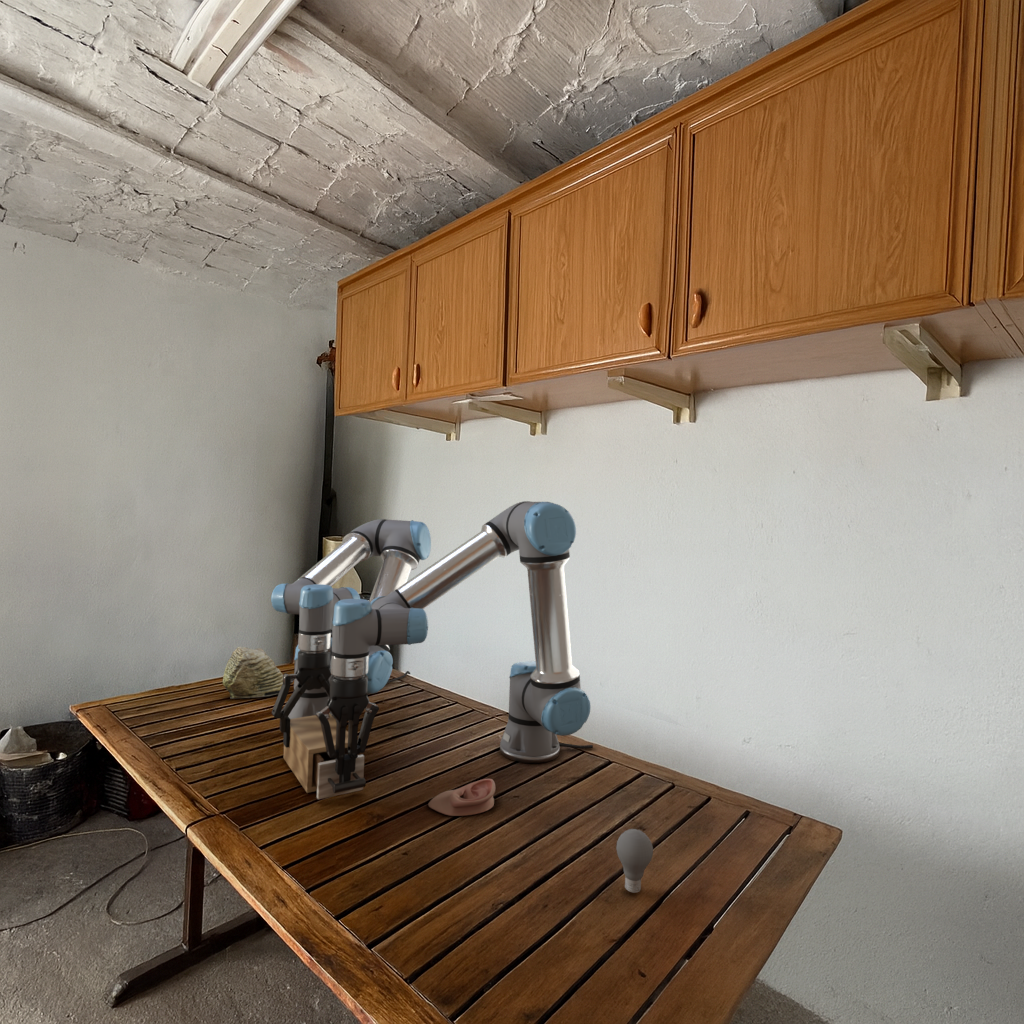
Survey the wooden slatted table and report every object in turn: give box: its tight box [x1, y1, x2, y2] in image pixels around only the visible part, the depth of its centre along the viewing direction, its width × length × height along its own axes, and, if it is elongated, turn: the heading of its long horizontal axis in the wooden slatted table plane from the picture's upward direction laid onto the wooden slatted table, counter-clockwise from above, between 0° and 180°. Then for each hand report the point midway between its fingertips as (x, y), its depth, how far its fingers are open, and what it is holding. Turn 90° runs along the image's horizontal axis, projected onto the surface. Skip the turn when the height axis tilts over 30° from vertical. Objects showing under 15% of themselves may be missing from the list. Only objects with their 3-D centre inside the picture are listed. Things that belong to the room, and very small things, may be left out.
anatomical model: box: [427, 778, 496, 817], centre depth 133 cm, size 13×4×12 cm
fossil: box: [222, 646, 284, 699], centre depth 198 cm, size 9×18×15 cm, turn 132°
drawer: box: [312, 748, 367, 800], centre depth 139 cm, size 24×10×7 cm, turn 33°
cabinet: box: [282, 713, 348, 794], centre depth 147 cm, size 20×11×9 cm, turn 33°
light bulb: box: [615, 828, 654, 894], centre depth 106 cm, size 6×6×10 cm
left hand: (311, 741), depth 152 cm, fingers closed on cabinet, 11 cm apart
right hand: (344, 787), depth 131 cm, fingers closed
